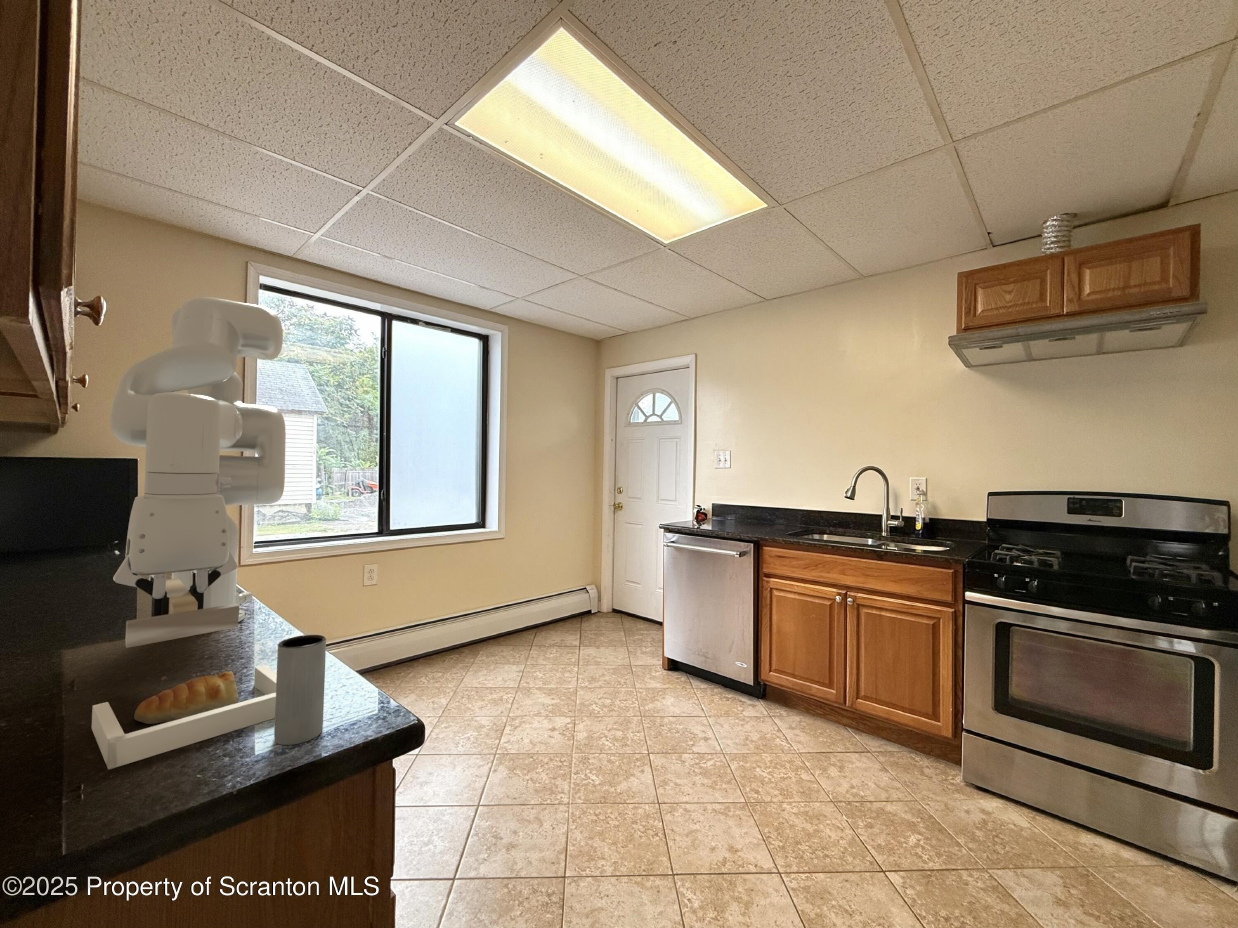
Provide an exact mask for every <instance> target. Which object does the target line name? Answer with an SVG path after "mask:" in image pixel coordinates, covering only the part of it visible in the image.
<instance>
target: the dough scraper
mask: <svg viewBox="0 0 1238 928" xmlns="http://www.w3.org/2000/svg"><path fill="white" fill-rule="evenodd" d="M165 591H166V592H167V597H169V598H170V599H169V614H168V615H161V616H155V617H151V616H149V617H144V618H137V619H132V620H131V619H130V620H126V622H125V640H124V646H125V648H126V649H128V648H132V647H138V646H139V647H140V646H144V645H149V644H150V645H151V644H154V643H156V644H157V643H159V642H166V641H170V640H175V639H180V638H181V639H182V638H186V637H192V636H197V635H203V634H208V633H212V632H219V631H224V630H230V629H234V628H238V626H239V622H238V617H239V609H240V605H238V604H231V605H224V606H218V607H212V608H205V609H199V610H197V607H198V602H197V601H196V599H195V598H194V597H193V596H192V595H191V593H190V592H189V591H188V589H187V588H186V587H185V586H184V584H183V583H182V582H181V581H180V579H179V578H175V579H172V578H166V587H165Z"/></svg>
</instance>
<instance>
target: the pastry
mask: <svg viewBox="0 0 1238 928" xmlns="http://www.w3.org/2000/svg"><path fill="white" fill-rule="evenodd" d="M238 700H239V693H238V687H237V684H236V680H235V675H234V673H233V671H232V670H230V671H228V670H227V671H222V672H221V673H220V674H214V675H204V676H199V677H195V678H190V679H189V680H187V681H186V682H183V683H179V684H177V685H176V686H174V687H170V688H169V689H165V690H162V691H161V692H159V693H158V694H155V695H152V696H151V697H149V698H146V699H145V700H143V701H142V702H141V703H140V704H139V705H138V706H137V707H136V710H135V711H134V715H133V716H134V720H135V721H137V722H141V723H143V724H149V725H150V724H151V725H154V724H158V723H160V724H161V723H167V722H171V721H175V720H178V719H182V718H185V717H189V716H193V715H196V714H200V713H204V712H207V711H211V710H214V709H218V708H222V707H225V706H229V705H232V704H236V703H238Z"/></svg>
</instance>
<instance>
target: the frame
mask: <svg viewBox="0 0 1238 928" xmlns="http://www.w3.org/2000/svg"><path fill="white" fill-rule="evenodd" d="M276 679H277V671H275V670H274V669H272V668H270V666H268V665H266V664H262V665H258V666H255V667H254V678H253V681H254V682H253V687H255V688H256V689H257V690H258V691H260V692H261V693H262V694H263V695H262V696H258V697H255V698H250V699H246V700H244V701H240V702H237V703H236V704H232V705H229V706H225V707H222V708H218V709H214V710H211V711H207V712H204V713H200V714H196V715H193V716H189V717H185V718H182V719H178V720H175V721H166V722H163V723H160V724H156V725H153V726H150V727H146V728H143V729H139V730H135V731H132V732H129V733H125V732H124V730H123V728H122V726H121V725H120V723H119V721H118V719H117V717H116V714H115V713H114V710H113V709H112V707H111V706H110V703H109V702H108V701H106V702H102V703H101V702H100V703H98V704H94V705H92V712H91V730H92V732H93V735H94V738H95V741H96V743H97V745H98V749H99V750H100V752H101V756H102V758H103V760H104V762H105V764H106V767H107V770H112V769H115V768H118V767H122V766H124V765H128V764H130V763H134V762H137V761H141V760H144V759H147V758H150V757H153V756H156V755H160V754H163V753H167V752H170V751H172V750H176V749H179V748H183V747H186V746H189V745H192V744H195V743H198V742H201V741H205V740H208V739H211V738H214V737H217V736H221V735H224V734H228V733H231V732H234V731H237V730H241V729H244V728H246V727H251V726H253V725H256V724H260V723H263V722H265V721H269V720H273V719H275V704H276Z"/></svg>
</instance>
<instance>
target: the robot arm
mask: <svg viewBox="0 0 1238 928" xmlns="http://www.w3.org/2000/svg"><path fill="white" fill-rule="evenodd" d="M170 328H171V334H172V339H173V340H172V343H171V347H169V348H167V349H164V350H160V351H159V352H156V353H154V354H153V353H152V355H151V354H150V356H147V357H145V358H142V359H141V360H139V361H137V362H135V363H134V364H133V365H131V366H130V367H128V368H127V370H126V371H124V373H123V374H122V376H121V377H120V379H119V383H118V385H117V388H116V391H115V395H114V397H113V400H112V403H111V404H112V405H111V407H110V408H111V409H110V414H109V415H110V416H109V423H110V425H109V426H110V429H111V432H112V434H113V435H114V437H115V438H116V439H117V440H118V441H119V442H121V443H122V444H126V445H129V446H133V447H145V460H144V486H143V487H144V489H143V490H144V491H143V495H141V496H136V497H134V501H133V502H132V503H133V504H132V508H131V511H130V516H129V522H128V529H127V534H126V535H127V536H126V545H125V558H124V560H123V561H122V563H121V564H120V566H119V567H118V569H117V571H116V572H115V574H114V575H113V577H112V580H113V581H114V582H115V583H116V584H121V585H124V586H129V587H135V588H138V589H140V590H142V591H143V592H144V593H145V594H148V595H149V596H150V597H151V613H150V615H151V616H150V617H155V616H161V615H168V614H169V599H170V598H169V597H167V592H166V591H165V587H166V580H167V574H171V579H175V578H179V579H180V581H181V582H182V583H183V584H184V586H185V587H186V588H187V589H188V591H189V592H190V593H191V595H192V596H193V597H194V598H195V599H196V601H197V602H198V607H197V610H199V609H205V608H212V607H218V606H224V605H231V604H238V605H239V606H240V605H241V604H245V603H246V602H250V601H251V600H252V599H253V594H252V592H251V591H246V592H241V593H239V592H237V584H238V583H237V582H238V581H237V579H238V578H237V575H238V557H239V555H238V554H239V553H238V552H239V528H238V525H237V523H236V521H235V520H234V519H233V517H231V515H230V514H228V512H227V506H254V505H255V506H257V505H271V504H275V503H277V502H279V501H280V500H281V499H282V497H283V494H284V492H285V491H284V490H285V480H286V479H285V478H286V475H285V474H286V438H287V437H286V434H287V433H286V432H287V431H286V421H285V418H284V415H283V414H282V412H281V411H280V410H279V409H278V408H276V407H274V406H270V405H264V404H251V403H243V387H244V384H243V381H242V379H241V377H240V376H239V375H238V373H237V372H236V369H237V366H238V357H242V358H252V359H257V360H258V359H259V360H274V359H277V358H278V357H279V356H280V354H281V351H282V348H283V344H284V343H283V342H284V341H283V340H284V337H283V336H284V333H283V325H282V322H281V320H280V318H279V315H278V314H277V313H276V312H275V311H274V310H272V309H270V308H269V307H266V306H263V305H257V304H252V303H246V302H241V301H235V300H231V299H224V298H218V297H211V296H197V297H194V298H191V299H189V300H187V301H185V303H183V305H182V306H181V307H180V308H179V307H178V308H176V309H175V310H174V311H173V313H172V314H171V317H170ZM182 391H186V393H184V392H183V393H182ZM220 451H225V452H227V451H228V452H229V451H230V452H251V453H255V454H256V455H257V456H248V455H246V456H245V455H244V456H243V455H230V454H229V455H228V454H223V455H222V454H221V452H220ZM144 576H149V578H148V579H147V578H146V577H144ZM245 618H246V611H245V610H243V609H240V608H239V617H238V623H239V622H241V621H243V620H244V619H245Z"/></svg>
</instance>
